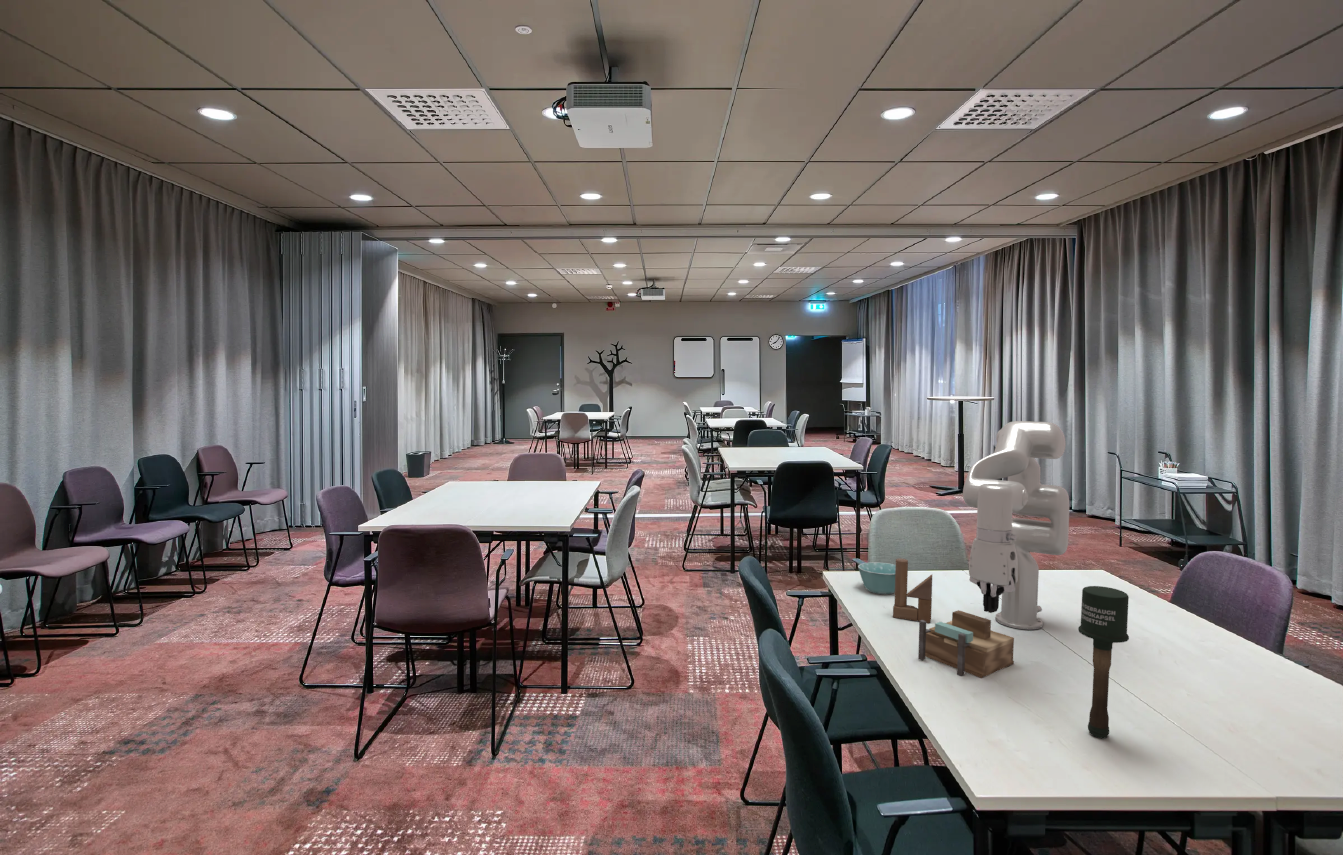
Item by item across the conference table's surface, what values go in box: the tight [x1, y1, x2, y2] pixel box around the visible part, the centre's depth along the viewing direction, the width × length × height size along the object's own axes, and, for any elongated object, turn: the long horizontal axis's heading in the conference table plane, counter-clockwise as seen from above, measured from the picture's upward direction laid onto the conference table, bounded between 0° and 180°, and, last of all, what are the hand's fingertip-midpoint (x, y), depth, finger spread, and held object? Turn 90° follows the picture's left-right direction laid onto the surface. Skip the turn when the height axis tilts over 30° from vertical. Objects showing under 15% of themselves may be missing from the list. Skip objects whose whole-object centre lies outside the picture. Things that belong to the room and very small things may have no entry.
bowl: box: [857, 561, 896, 596], centre depth 230 cm, size 16×16×8 cm
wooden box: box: [917, 620, 1015, 679], centre depth 171 cm, size 18×16×10 cm
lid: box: [928, 609, 1015, 652], centre depth 172 cm, size 15×16×7 cm
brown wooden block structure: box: [892, 557, 933, 624], centre depth 202 cm, size 4×11×18 cm, turn 64°
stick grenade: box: [1077, 585, 1130, 739], centre depth 135 cm, size 8×9×30 cm
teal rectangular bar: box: [934, 621, 973, 643], centre depth 168 cm, size 2×9×2 cm, turn 35°
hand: (990, 610), depth 159 cm, fingers closed
